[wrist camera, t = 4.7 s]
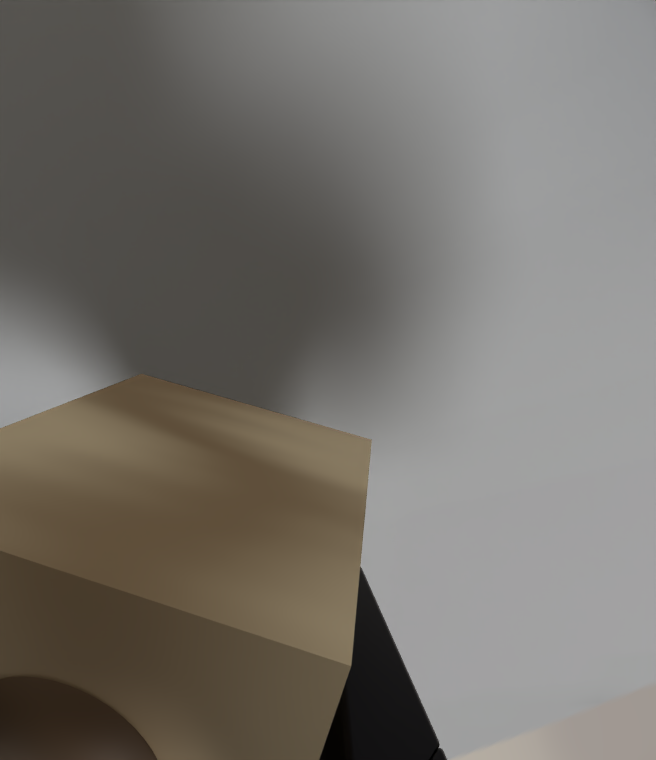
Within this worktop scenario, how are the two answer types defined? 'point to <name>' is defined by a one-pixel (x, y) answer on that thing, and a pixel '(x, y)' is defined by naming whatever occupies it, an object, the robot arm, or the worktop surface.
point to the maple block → (175, 577)
